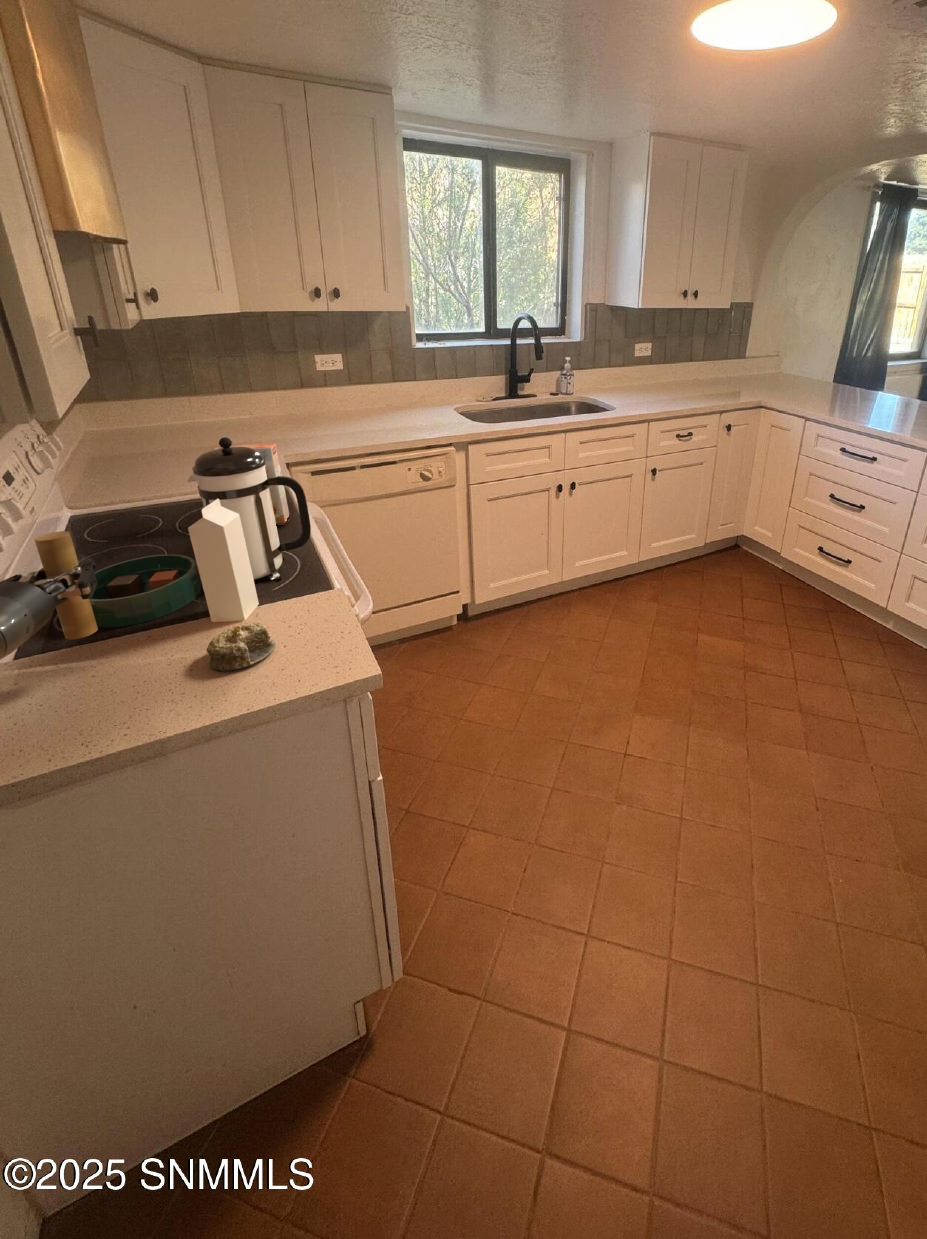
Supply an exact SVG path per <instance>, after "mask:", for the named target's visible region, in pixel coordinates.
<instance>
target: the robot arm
mask: <svg viewBox="0 0 927 1239" xmlns="http://www.w3.org/2000/svg"><path fill="white" fill-rule="evenodd" d="M96 571H98V568H97V565H96V562H95V560H94V559H93V558H85V559H84V560H82V561H81V562H79V564H78V565H77V566H75V567H74V568H73V569H71V570H70V571H68V572H59V573H57V574H55V575H53V576H51V577H49V578H46V575H45V572H44V569H43V567H41V569H38V570H35V571H31V572H29V573H28V574H26V575H22V574H21V573H19V574H14V575H12V576H9V577H8V578H5V579H3V580H1V581H0V661H1V660H3V659H4V658H5V657H7V656H9V655H11V654H12V653H14V652H15V651H16V650H17V649H18V648H20V647H21V646H23V644H24V643H26V642H27V641H28V640H29V639H30V638H31V637H33V636H34V635H35V634H36V633H38V632H39V631H40V630H41V629H42V628H44V626H46V625H47V624H48V623H49V621H50V620H51V618H52V616H53V614H54V611H55V609H56V606H58V605H60V604H62V603H64V602H65V601H67V599H68V597H73V596H78V595H79V596H80V597H82V599H89V598H91V597H92V596H93V594H94V591H95V588H96V586H97V580H96V577H95V573H94V572H96ZM72 576H73V577H74V580H75V581H74V582H72V579H71V578H72ZM58 580H59V581H58Z"/></svg>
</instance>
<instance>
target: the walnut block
mask: <svg viewBox="0 0 927 1239" xmlns="http://www.w3.org/2000/svg"><path fill="white" fill-rule="evenodd" d="M106 587H107V590H108V593H109V596H110V599H115V598H122V597H128V596H133V595H137V594H141V593H144V589H143V585H142V582H141V578H140V575H129V576H117V577H116V578H115V579H114V580H113V581H111V582H110V583H109V584H108V585H107V586H106Z"/></svg>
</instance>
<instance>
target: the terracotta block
mask: <svg viewBox="0 0 927 1239" xmlns="http://www.w3.org/2000/svg"><path fill="white" fill-rule="evenodd" d="M179 578H180V575H179V571H178V570H173V571H164V572H156V573H155V574H154V575H153V576H152V578H151V579H150V580H149V581H148V583H149V586H150V590H154V589H157V588H160V587H163V586H165V585H167V584H169V583H171V582H173V581H175V580H177V579H179Z"/></svg>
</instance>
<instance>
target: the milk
mask: <svg viewBox="0 0 927 1239" xmlns="http://www.w3.org/2000/svg"><path fill="white" fill-rule="evenodd" d="M200 512H201V516H202V517H201V518H200V519H198V520H197V521H196V522H194V523H193V524H191V525H190V526H188V527H187V531H188V534H189V538H190V543H191V546H192V550H193V553H194V559H195V563H196V567H197V571H198V575H199V579H200V583H201V587H202V589H203V592H204V597H205V601H206V606H207V609H208V613H209V618H210V620H211V622H212V623H213V622H216V623H217V622H239V621H240V622H241V621H246V620H247V619H248V618H249V617H250V615H251V614H252V613H253V612H254V611H255V609H257V607H258V606H259V605H260V603H259V598H258V592H257V589H256V588H257V587H256V584H255V579H253V575H252V570H251V566H250V561H249V556H248V552H247V547H246V543H245V538H244V534H243V529H242V525H241V520H240V515H239V514H237V513H235V512H233V511H231V510H229V509H226V508H224V507H222V506H221V505H220V500H219V499H216V500H215V501H213V502H212V503H210V504H209V505H207V506H206V507H204V506H203V507H202V509H201V511H200Z"/></svg>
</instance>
